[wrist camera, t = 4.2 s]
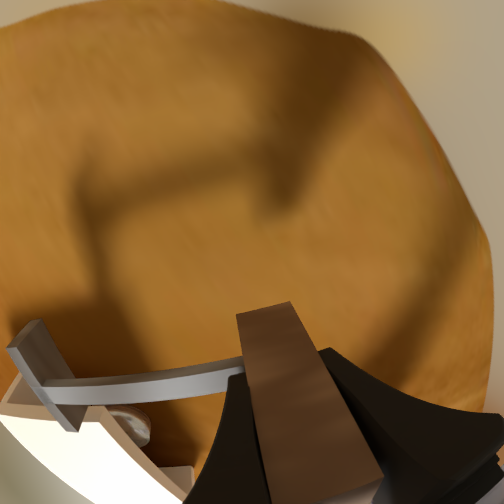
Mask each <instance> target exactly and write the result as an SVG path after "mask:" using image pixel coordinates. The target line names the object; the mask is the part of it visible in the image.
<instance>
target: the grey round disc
mask: <svg viewBox="0 0 504 504" xmlns="http://www.w3.org/2000/svg"><path fill="white" fill-rule="evenodd" d="M103 406H105V408H106V409H107V410H108V412H109V413H110V414H111V416H112V417H113V418H114V419H115V421H116V422H117V423H118V424H119V426H120V427H121V428H122V429H123V430H124V432H125V433H126V434H127V435H128V436H129V438H130V439H131V440H132V441H133V442H134V443H135V444H136V445H137V447H142V446H145V445H146V444H148V442H149V440H150V430H151V421H150V419H149V417H148V416H147V415H146V414H145V413H144V412H143V411H141V410H140V409H138V408H136V407H134V406H131V405H129V404H105V405H103Z"/></svg>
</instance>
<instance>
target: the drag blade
mask: <svg viewBox="0 0 504 504" xmlns="http://www.w3.org/2000/svg"><path fill="white" fill-rule="evenodd" d="M236 318H237V324H238V330H239V336H240V342H241V348H242V354H243V356H239V357H235V358H230V359H225V360H220V361H215V362H210V363H205V364H199V365H193V366H188V367H182V368H175V369H169V370H162V371H155V372H147V373H139V374H130V375H120V376H109V377H97V378H80V379H76V378H75V376H74V375H73V373H72V372H71V370H70V369H69V367H68V365H67V364H66V362H65V360H64V359H63V357H62V355H61V354H60V352H59V350H58V348H57V347H56V345H55V343H54V341H53V339H52V338H51V336H50V334H49V332H48V330H47V328H46V326H45V324H44V322H43V320H42V318H41V319H36V320H30V322H29V323H28V324H27V325H26V326H25V327H24V328H23V329H22V330H21V331H20V332H19V333H18V335H17V336H16V337H15V338H14V339H13V340H12V341H11V343H10V344H9V345H8V346H7V347H6V350H7V351H8V353H9V355H10V357H11V358H12V360H13V361H14V363H15V365H16V366H17V368H18V369H19V371H20V373H21V374H22V376H23V377H24V379H25V380H26V381H27V383H28V384H29V386H30V387H31V389H32V390H33V391H34V393H35V394H36V395H37V397H38V398H39V399H40V401H41V402H42V403H43V405H44V406H45V407H46V408H47V410H48V411H49V412H50V413H51V415H52V416H53V417H54V418H55V419H56V421H57V422H58V423H59V424H60V425H61V426H62V428H63V429H64V430H65V431H66V432H76V433H79V430H80V427H81V424H82V422H83V419H84V416H85V414H86V411H87V408H88V406H89V405H104V404H127V403H142V402H153V401H163V400H172V399H180V398H187V397H194V396H201V395H207V394H213V393H218V392H224V391H227V384H228V377H229V376H230V375H234V374H238V373H243V372H246V376H247V382H248V386H250V395H251V403H252V409H253V414H254V419H255V424H256V429H257V434H258V439H259V444H260V449H261V454H262V459H263V464H264V469H265V473H266V478H267V483H268V487H269V492H270V496H271V501H272V504H370V502H371V500H372V499H373V497H374V495H375V493H376V491H377V489H378V488H379V486H380V484H381V482H382V480H383V478H384V474H383V473H382V471H381V469H380V467H379V465H378V463H377V461H376V459H375V457H374V456H373V454H372V452H371V450H370V448H369V446H368V444H367V442H366V440H365V439H364V437H363V435H362V433H361V431H360V429H359V427H358V425H357V424H356V422H355V420H354V418H353V416H352V414H351V412H350V411H349V409H348V407H347V405H346V403H345V401H344V399H343V398H342V396H341V394H340V392H339V390H338V388H337V386H336V385H335V383H334V381H333V379H332V377H331V375H330V374H329V372H328V370H327V368H326V366H325V364H324V363H323V361H322V359H321V357H320V355H319V353H318V352H317V350H316V348H315V346H314V344H313V342H312V341H311V339H310V337H309V335H308V333H307V331H306V330H305V328H304V326H303V324H302V322H301V321H300V319H299V317H298V315H297V313H296V312H295V310H294V308H293V306H292V304H291V302H290V301H289V302H285V303H281V304H277V305H273V306H269V307H265V308H261V309H257V310H253V311H249V312H244V313H240V314H236Z"/></svg>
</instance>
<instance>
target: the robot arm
mask: <svg viewBox="0 0 504 504" xmlns="http://www.w3.org/2000/svg"><path fill="white" fill-rule="evenodd" d="M317 352H318V353H319V355H320V357H321V359H322V361H323V363H324V364H325V366H326V368H327V370H328V372H329V374H330V375H331V377H332V379H333V381H334V383H335V385H336V386H337V388H338V390H339V392H340V394H341V396H342V398H343V399H344V401H345V403H346V405H347V407H348V409H349V411H350V412H351V414H352V416H353V418H354V420H355V422H356V424H357V425H358V427H359V429H360V431H361V433H362V435H363V437H364V439H365V440H366V442H367V444H368V446H369V448H370V450H371V452H372V454H373V456H374V457H375V459H376V461H377V463H378V465H379V467H380V469H381V471H382V473H383V474H384V478H383V480H382V482H381V484H380V486H379V488H378V489H377V491H376V493H375V495H374V497H373V499H372V500H371V502H370V504H504V464H503V465H502V466H501V467H500V466H499V465H498V464H497V462H498V461H499V457H498V456H497V455H496V452H498V451H499V449H500V448H501V447H502V446H503V445H504V418H503V417H502V416H501V415H500V414H496V413H494V414H493V413H477V412H468V411H462V410H456V409H451V408H447V407H443V406H439V405H436V404H432V403H429V402H426V401H423V400H420V399H417V398H415V397H412V396H410V395H407V394H405V393H403V392H401V391H399V390H397V389H394V388H393V387H391V386H389V385H387V384H385V383H383V382H381V381H380V380H378V379H376V378H374V377H373V376H371V375H370V374H368V373H366V372H365V371H363V370H362V369H360V368H359V367H357V366H356V365H354V364H353V363H351V362H350V361H349V360H347V359H346V358H344V357H343V356H342V355H340V354H339V353H338V352H336V351H335V350H334V349H332V348H330V347H329V348H326V349H323V350H320V351H317ZM182 504H272V501H271V496H270V492H269V487H268V483H267V478H266V473H265V469H264V464H263V459H262V454H261V449H260V444H259V439H258V434H257V429H256V424H255V419H254V414H253V409H252V403H251V395H250V386H248V382H247V376H246V372H243V373H238V374H234V375H230V376H229V377H228V384H227V392H226V398H225V403H224V408H223V412H222V416H221V420H220V424H219V427H218V430H217V433H216V436H215V439H214V442H213V445H212V448H211V450H210V453H209V455H208V458H207V460H206V462H205V464H204V467H203V469H202V471H201V473H200V474H199V476H198V478H197V480H196V482H195V484H194V486H193V487H192V489H191V491H190V492H189V494H188V495H187V497H186V498H185V500H184V501H183V503H182Z"/></svg>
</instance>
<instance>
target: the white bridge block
mask: <svg viewBox="0 0 504 504" xmlns="http://www.w3.org/2000/svg"><path fill="white" fill-rule="evenodd" d="M0 421H1V422H2V423H3V424H4V425H5V427H6V428H7V429H8V430H9V431H10V432H11V433H12V434H13V435H14V437H15V438H16V439H17V440H18V441H19V442H20V443H21V444H22V445H23V446H24V447H25V448H26V449H27V450H28V451H29V452H30V453H31V454H33V455H34V456H35V457H36V458H37V459H38V460H39V461H40V462H41V463H42V464H44V465H45V466H46V467H47V468H48V469H49V470H50V471H52V472H53V473H54V474H55V475H57V476H58V477H59V478H60V479H61V480H63V481H64V482H66V483H67V484H68V485H69V486H71V487H72V488H73V489H75V490H76V491H77V492H79V493H80V494H82V495H83V496H85V497H86V498H88V499H89V500H91V501H92V502H94V503H95V504H182V503H183V501H184V500H185V498H186V497H187V495H188V494H189V492H190V491H191V489H192V487H193V486H194V484H195V479H194V468H193V467H192V466H179V467H163V468H158V467H157V466H156V465H155V464H154V463H153V462H152V461H151V460H150V459H149V458H148V457H147V456H146V455H145V454H144V453H143V452H142V451H141V450H140V449H139V448H138V447H137V445H136V444H135V443H134V442H133V441H132V440H131V439H130V438H129V436H128V435H127V434H126V433H125V432H124V430H123V429H122V428H121V427H120V426H119V424H118V423H117V422H116V421H115V419H114V418H113V417H112V416H111V414H110V413H109V412H108V410H107V409H106V408H105V406H88V408H87V411H86V414H85V416H84V419H83V422H82V424H81V427H80V430H79V433H76V432H66V431H65V430H64V429H63V428H62V426H61V425H60V424H59V423H58V422H57V421H56V419H55V418H54V417H53V416H52V415H51V413H50V412H49V411H48V410H47V408H46V407H45V406H44V405H43V403H42V402H41V401H40V399H39V398H38V397H37V395H36V394H35V393H34V391H33V390H32V389H31V387H30V386H29V384H28V383H27V381H26V380H25V379H24V377H23V376H22V374H21V373H20V372H19V373H18V375H17V376H16V378H15V379H14V381H13V383H12V384H11V386H10V387H9V389H8V391H7V392H6V394H5V395H4V397H3V399H2V401H1V402H0Z"/></svg>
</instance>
